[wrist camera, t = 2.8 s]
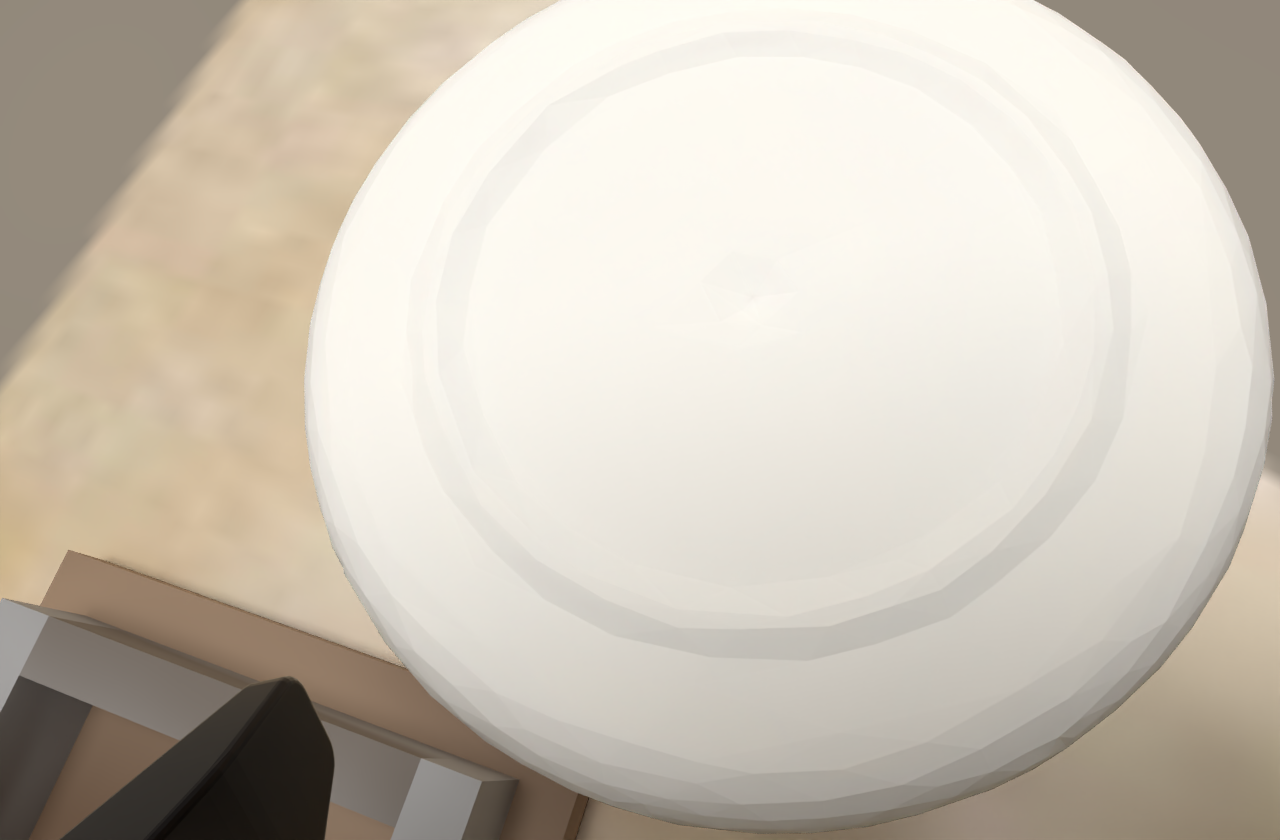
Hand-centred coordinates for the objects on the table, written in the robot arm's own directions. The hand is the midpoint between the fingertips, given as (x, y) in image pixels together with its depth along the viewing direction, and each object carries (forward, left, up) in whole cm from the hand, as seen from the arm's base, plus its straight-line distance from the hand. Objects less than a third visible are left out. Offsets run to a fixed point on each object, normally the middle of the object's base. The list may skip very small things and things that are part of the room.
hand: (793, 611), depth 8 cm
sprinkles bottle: (+1, 0, -9) cm, 9 cm away
